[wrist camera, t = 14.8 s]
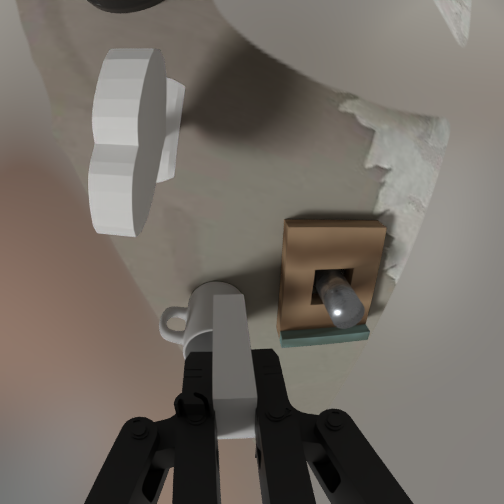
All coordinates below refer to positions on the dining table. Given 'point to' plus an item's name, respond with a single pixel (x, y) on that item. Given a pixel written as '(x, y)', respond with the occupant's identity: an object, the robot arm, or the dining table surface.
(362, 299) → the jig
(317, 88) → the dining table surface
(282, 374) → the robot arm
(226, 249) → the dining table surface
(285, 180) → the dining table surface
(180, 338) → the mug
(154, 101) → the heart sculpture
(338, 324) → the grey metal cylinder
